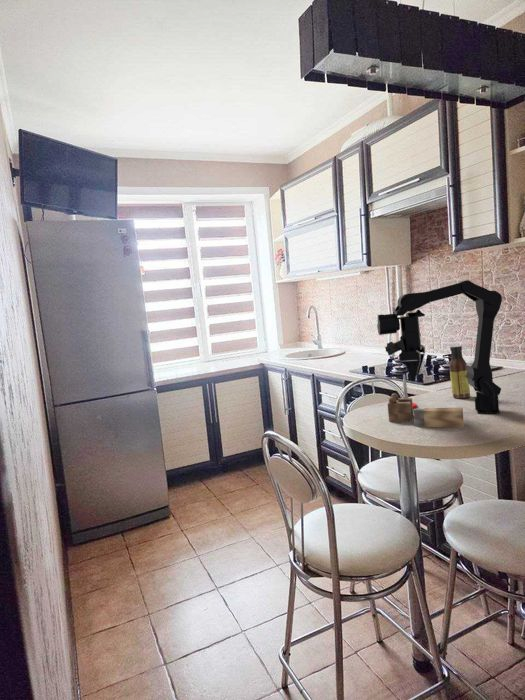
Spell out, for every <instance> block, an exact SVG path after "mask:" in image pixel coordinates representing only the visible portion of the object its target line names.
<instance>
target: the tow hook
mask: <svg viewBox="0 0 525 700" xmlns="http://www.w3.org/2000/svg"><path fill="white" fill-rule="evenodd" d="M402 378H403V379H402V385H403V387H402V388H403V396H402V398H409V395H408V388H407V387H408V385H407V379H406V374H405V373H403V374H402ZM412 403H413V410H414V409H418V408H417V407H418V403H415V402H412Z"/></svg>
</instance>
